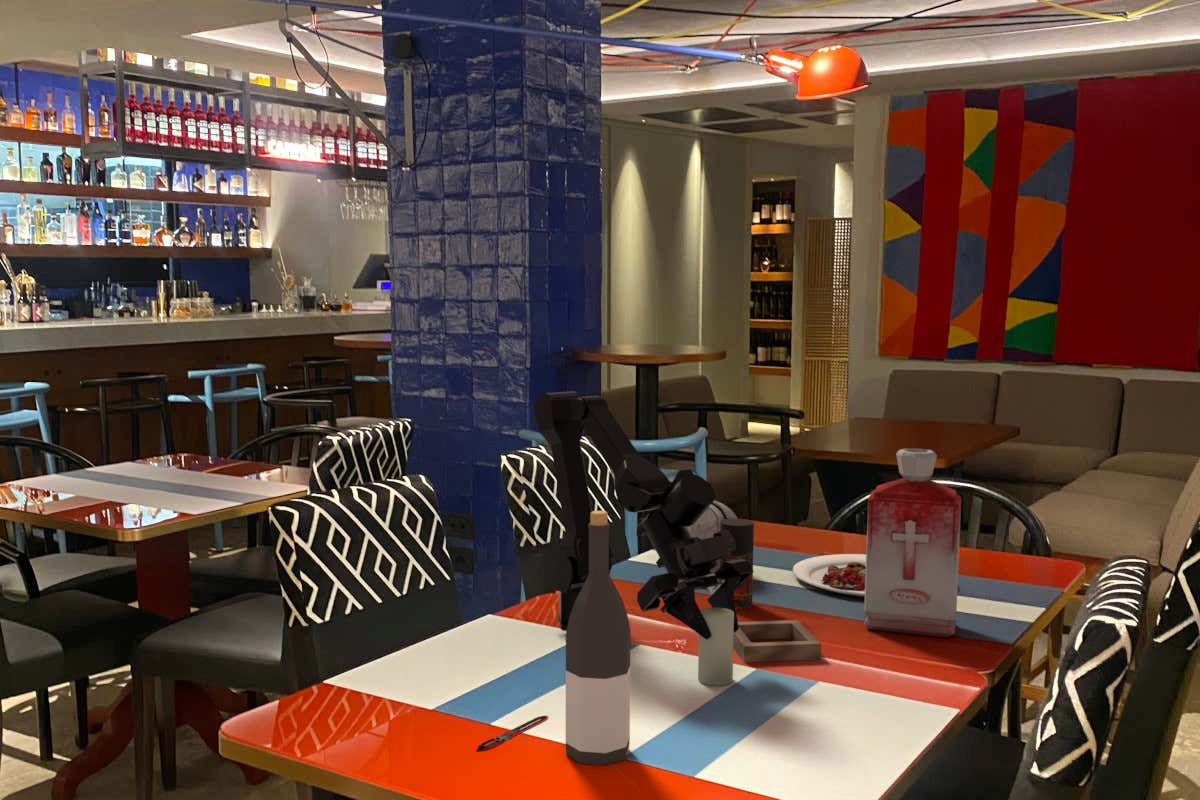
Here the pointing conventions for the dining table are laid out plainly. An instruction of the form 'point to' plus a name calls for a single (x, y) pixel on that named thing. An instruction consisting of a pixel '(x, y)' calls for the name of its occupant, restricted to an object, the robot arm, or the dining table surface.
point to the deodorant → (741, 556)
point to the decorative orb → (711, 523)
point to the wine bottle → (598, 661)
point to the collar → (797, 649)
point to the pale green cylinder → (717, 647)
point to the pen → (510, 733)
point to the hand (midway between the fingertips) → (722, 634)
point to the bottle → (913, 551)
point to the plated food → (834, 573)
